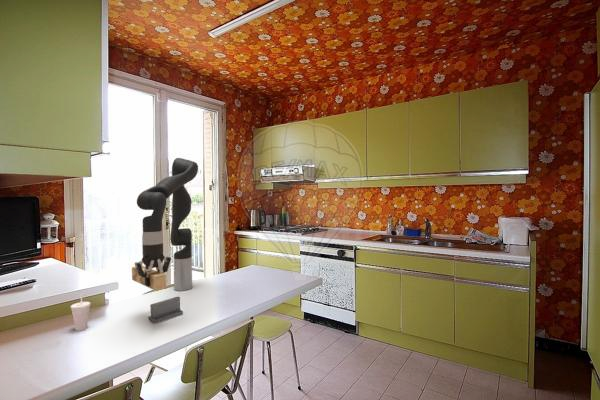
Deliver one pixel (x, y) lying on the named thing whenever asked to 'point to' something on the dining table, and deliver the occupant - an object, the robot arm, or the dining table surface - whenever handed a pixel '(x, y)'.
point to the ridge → (165, 310)
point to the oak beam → (151, 279)
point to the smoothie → (80, 314)
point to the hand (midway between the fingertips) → (153, 284)
